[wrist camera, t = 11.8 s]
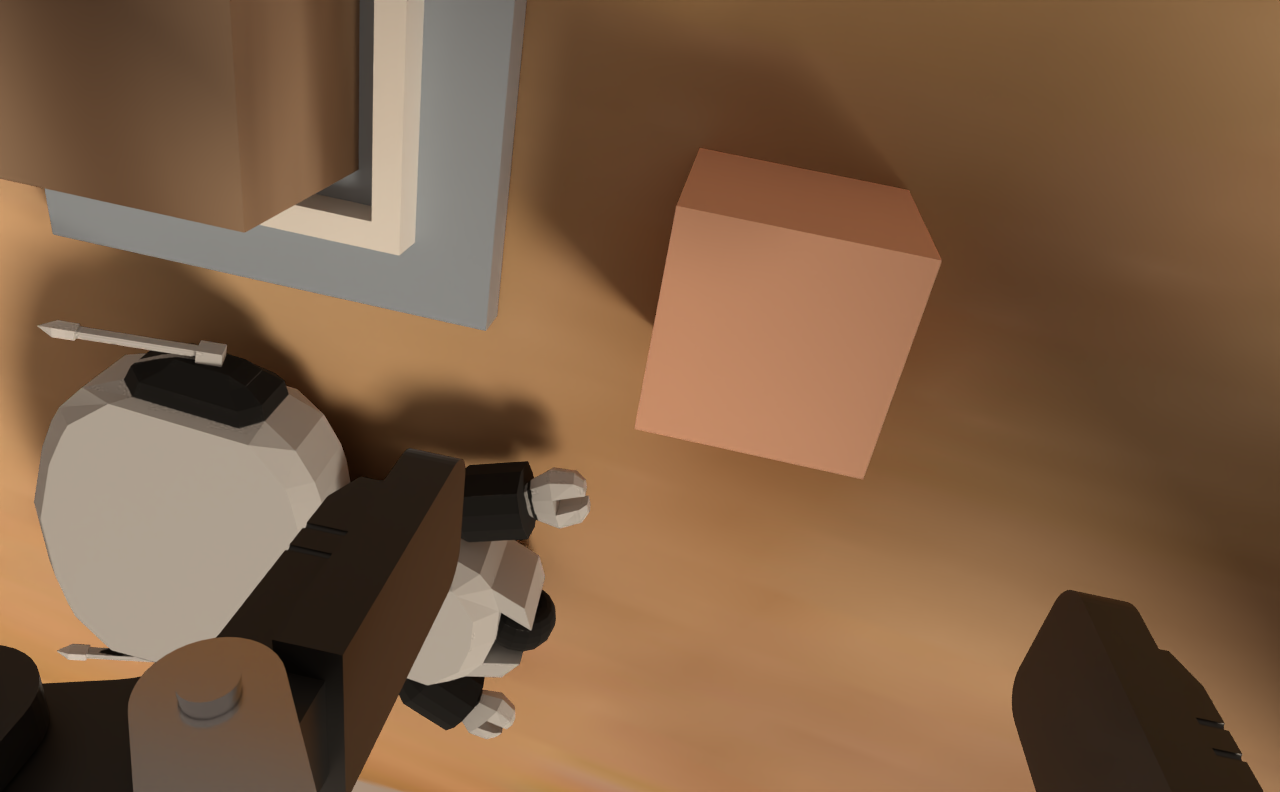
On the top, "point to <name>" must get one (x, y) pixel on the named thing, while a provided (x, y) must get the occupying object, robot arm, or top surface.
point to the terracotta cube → (785, 312)
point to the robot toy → (261, 519)
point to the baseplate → (380, 177)
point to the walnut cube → (181, 102)
